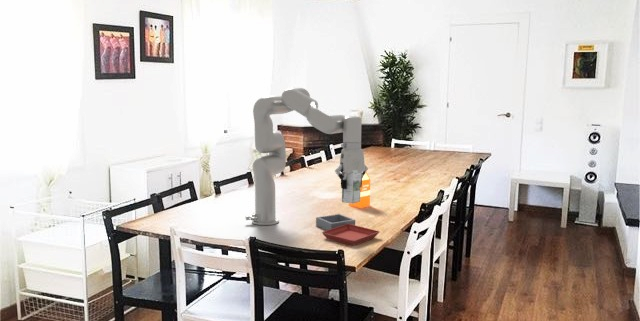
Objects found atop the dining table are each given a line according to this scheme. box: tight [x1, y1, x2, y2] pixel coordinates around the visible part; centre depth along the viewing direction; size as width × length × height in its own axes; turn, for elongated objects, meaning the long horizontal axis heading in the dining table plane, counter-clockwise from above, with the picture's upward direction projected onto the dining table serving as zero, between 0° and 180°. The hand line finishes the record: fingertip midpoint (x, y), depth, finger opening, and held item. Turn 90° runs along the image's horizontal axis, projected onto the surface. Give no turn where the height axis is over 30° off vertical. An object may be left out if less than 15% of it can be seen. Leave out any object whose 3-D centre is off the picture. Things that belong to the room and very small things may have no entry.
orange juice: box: [348, 171, 371, 209], centre depth 291 cm, size 8×9×20 cm
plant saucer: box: [321, 224, 380, 246], centre depth 232 cm, size 18×18×3 cm
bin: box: [315, 213, 356, 231], centre depth 249 cm, size 13×13×4 cm
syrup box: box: [341, 170, 361, 204], centre depth 229 cm, size 6×6×14 cm
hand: (351, 187), depth 229 cm, fingers closed on syrup box, 7 cm apart
